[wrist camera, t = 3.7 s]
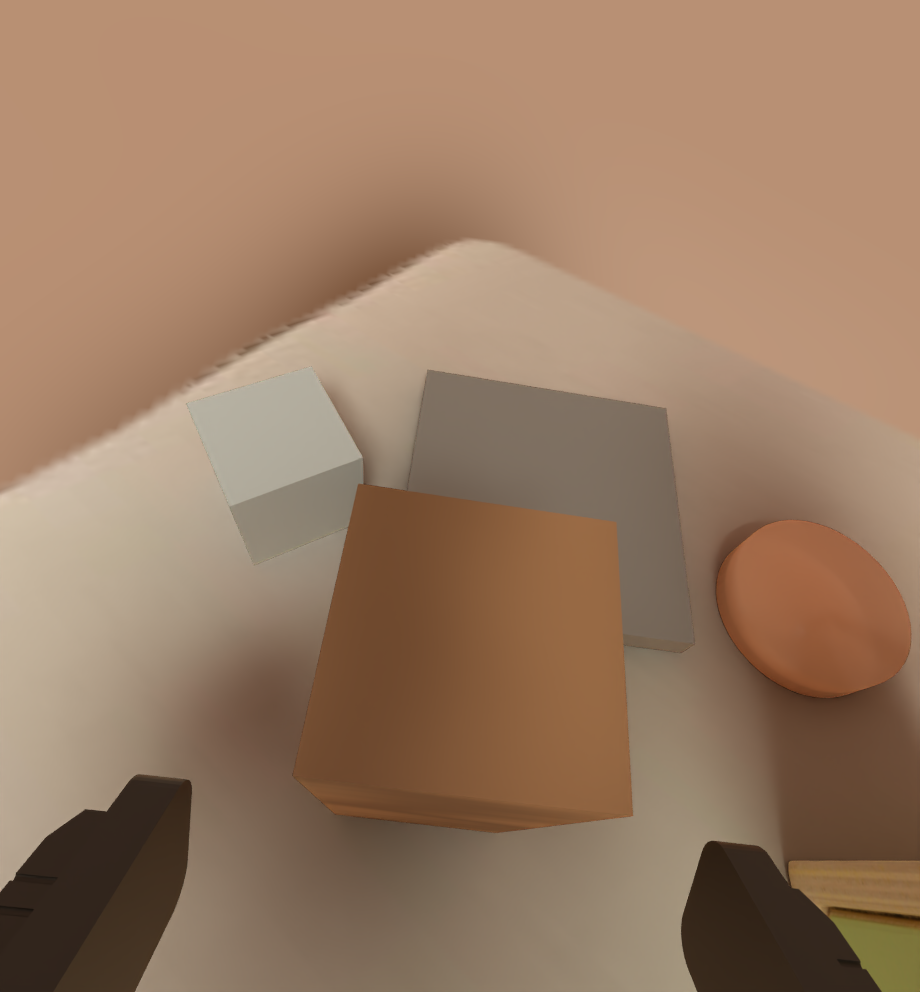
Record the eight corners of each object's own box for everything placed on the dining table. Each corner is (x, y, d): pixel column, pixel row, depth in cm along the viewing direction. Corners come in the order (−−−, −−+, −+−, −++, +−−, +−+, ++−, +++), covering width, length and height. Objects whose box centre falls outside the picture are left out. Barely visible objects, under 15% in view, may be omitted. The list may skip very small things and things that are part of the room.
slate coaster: (656, 423, 25) (665, 408, 24) (681, 652, 20) (695, 644, 19) (425, 386, 24) (427, 369, 23) (387, 612, 19) (387, 601, 18)
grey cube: (320, 439, 22) (311, 366, 19) (364, 521, 21) (362, 457, 17) (216, 475, 21) (186, 403, 18) (254, 566, 19) (229, 506, 16)
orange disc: (818, 527, 23) (844, 508, 22) (911, 675, 20) (948, 664, 19) (688, 553, 22) (708, 534, 20) (769, 716, 19) (798, 707, 18)
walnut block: (504, 671, 19) (616, 521, 10) (496, 833, 16) (633, 816, 8) (364, 652, 18) (358, 483, 10) (335, 814, 16) (292, 775, 7)
